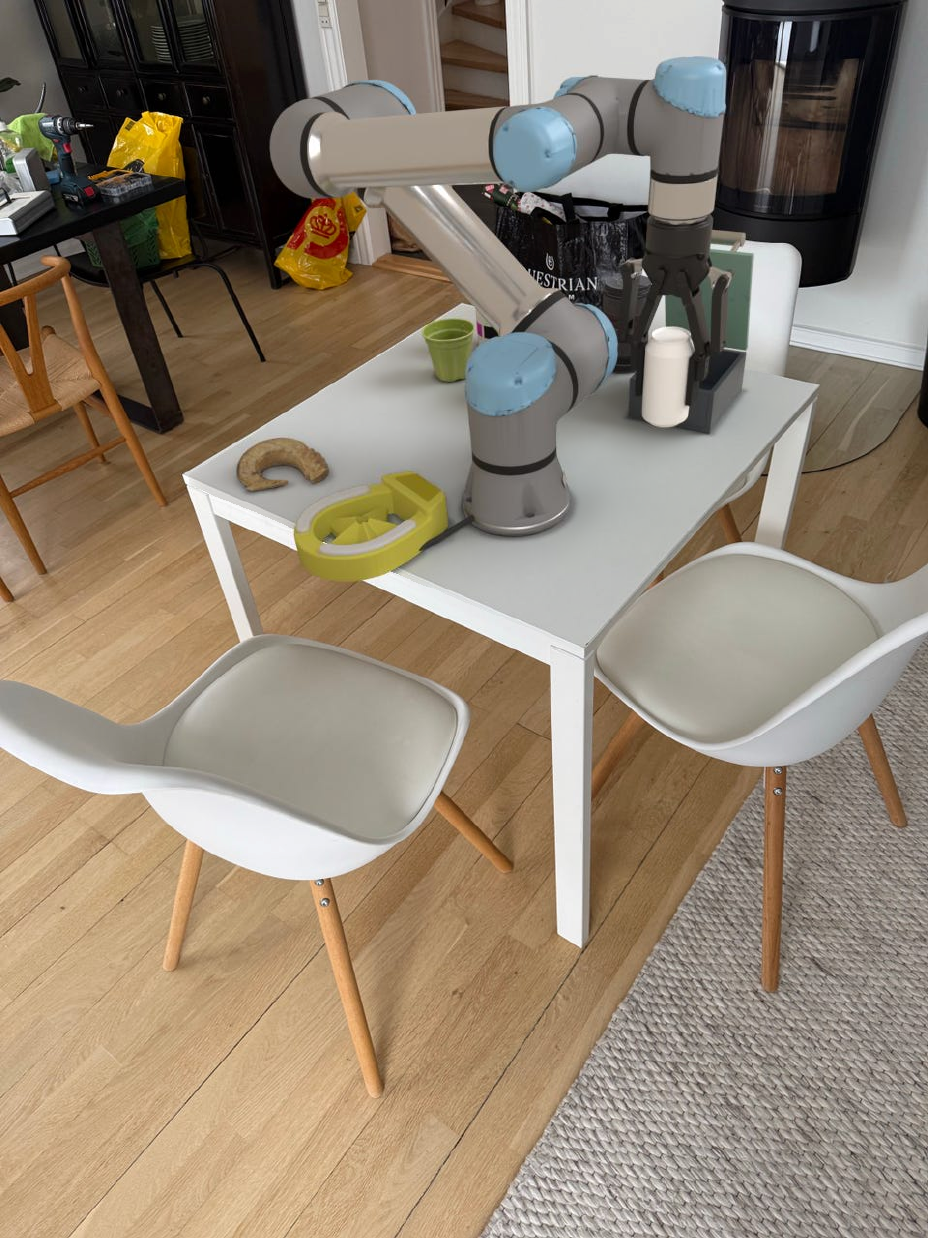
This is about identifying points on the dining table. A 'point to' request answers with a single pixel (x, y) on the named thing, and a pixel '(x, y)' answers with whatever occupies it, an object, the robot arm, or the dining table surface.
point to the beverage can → (666, 376)
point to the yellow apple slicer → (370, 527)
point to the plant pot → (449, 347)
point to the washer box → (706, 392)
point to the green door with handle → (736, 293)
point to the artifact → (279, 462)
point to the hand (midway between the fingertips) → (666, 396)
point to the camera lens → (613, 311)
